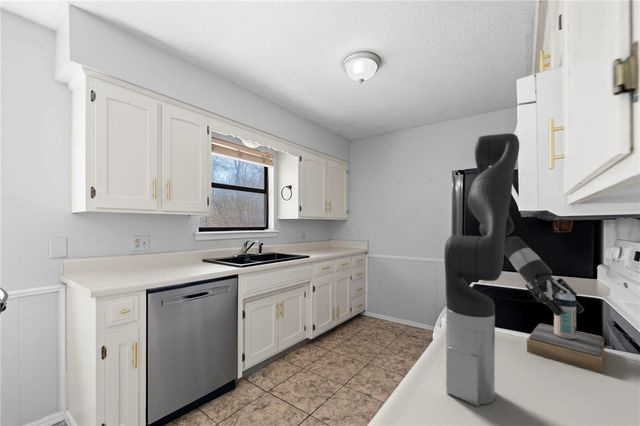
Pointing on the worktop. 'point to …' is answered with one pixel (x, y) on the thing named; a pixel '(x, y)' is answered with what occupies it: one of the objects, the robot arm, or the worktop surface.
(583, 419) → the worktop surface
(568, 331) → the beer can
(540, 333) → the dock
